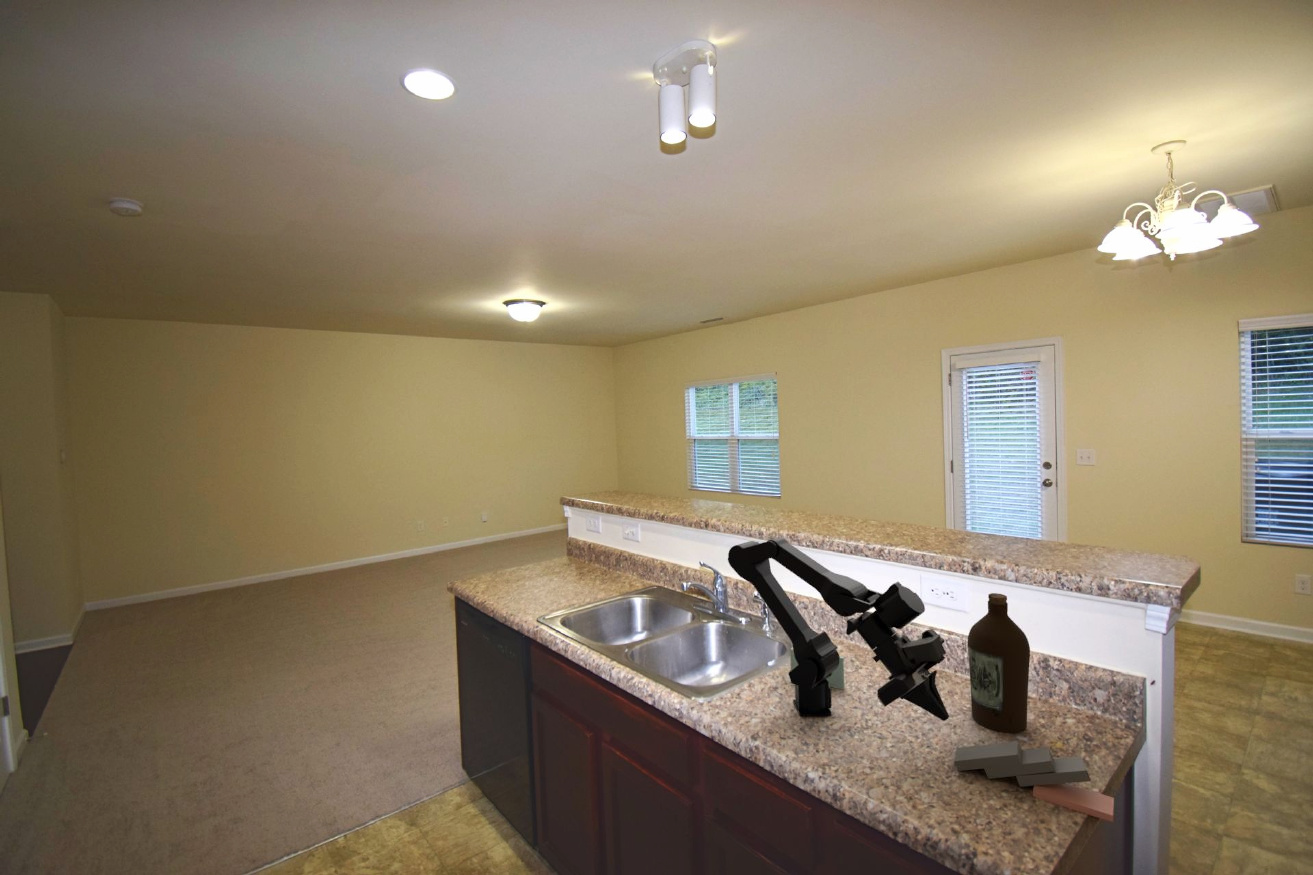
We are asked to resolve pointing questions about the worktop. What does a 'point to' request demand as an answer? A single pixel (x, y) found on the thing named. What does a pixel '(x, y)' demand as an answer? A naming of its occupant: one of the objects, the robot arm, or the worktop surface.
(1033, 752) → the domino
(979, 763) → the domino
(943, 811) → the worktop surface
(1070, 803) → the domino
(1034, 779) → the domino
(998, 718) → the olive oil
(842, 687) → the right angle wall
